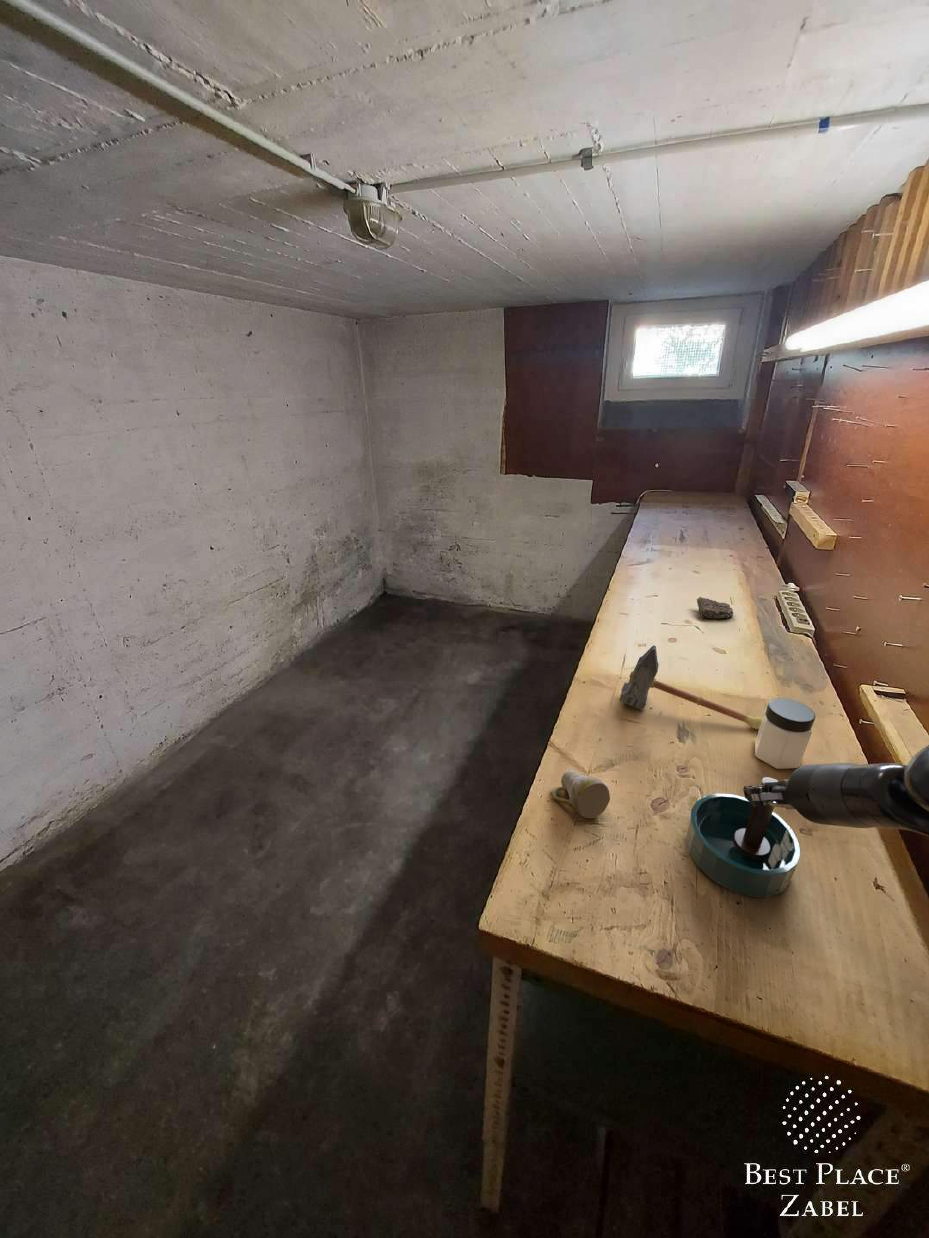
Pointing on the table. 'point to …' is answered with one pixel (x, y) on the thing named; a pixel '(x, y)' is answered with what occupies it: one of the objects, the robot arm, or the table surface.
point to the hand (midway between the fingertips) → (756, 792)
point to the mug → (584, 794)
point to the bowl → (724, 863)
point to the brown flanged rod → (755, 831)
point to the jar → (784, 733)
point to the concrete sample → (714, 608)
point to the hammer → (668, 690)
